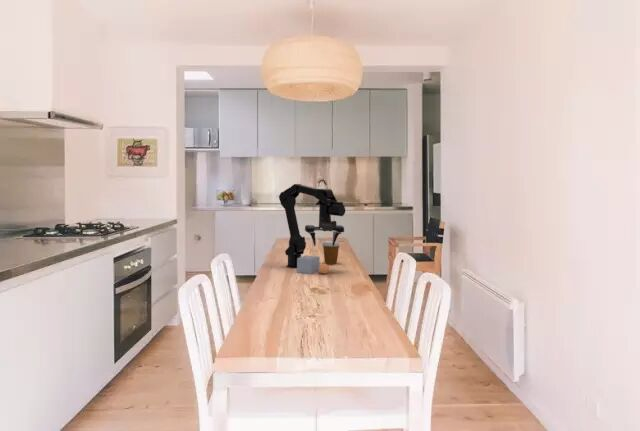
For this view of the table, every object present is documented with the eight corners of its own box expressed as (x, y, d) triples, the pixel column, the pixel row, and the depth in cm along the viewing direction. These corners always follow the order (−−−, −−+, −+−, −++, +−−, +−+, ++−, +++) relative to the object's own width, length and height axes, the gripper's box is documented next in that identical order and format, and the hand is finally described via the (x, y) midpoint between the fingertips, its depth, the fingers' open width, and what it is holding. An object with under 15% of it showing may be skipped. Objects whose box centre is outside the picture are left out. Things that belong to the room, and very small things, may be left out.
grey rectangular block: (297, 272, 241) (297, 258, 240) (305, 269, 250) (305, 255, 249) (311, 273, 238) (311, 259, 237) (319, 270, 247) (319, 256, 246)
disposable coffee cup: (339, 265, 261) (340, 242, 260) (321, 265, 261) (322, 242, 260) (339, 262, 271) (339, 240, 270) (322, 262, 271) (322, 240, 270)
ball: (316, 274, 237) (317, 263, 237) (320, 272, 242) (321, 262, 241) (326, 275, 235) (326, 264, 235) (330, 273, 240) (330, 263, 239)
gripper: (309, 216, 233) (308, 248, 234) (347, 216, 236) (346, 248, 238) (305, 213, 243) (304, 245, 245) (342, 214, 247) (340, 245, 249)
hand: (324, 246), depth 244 cm, fingers open, 9 cm apart
